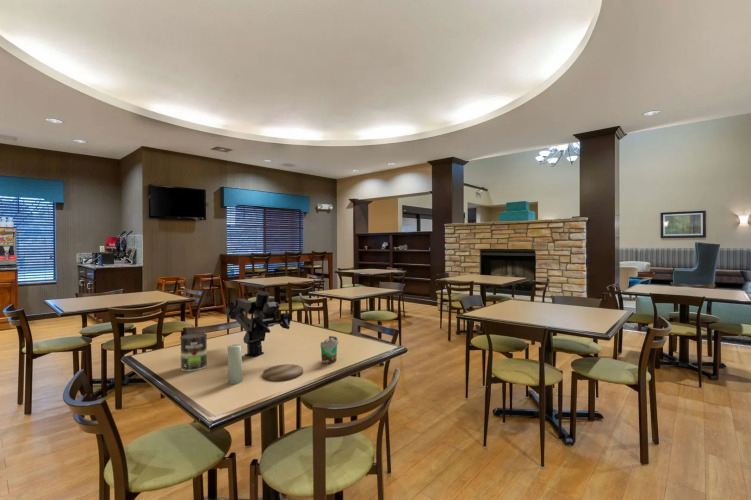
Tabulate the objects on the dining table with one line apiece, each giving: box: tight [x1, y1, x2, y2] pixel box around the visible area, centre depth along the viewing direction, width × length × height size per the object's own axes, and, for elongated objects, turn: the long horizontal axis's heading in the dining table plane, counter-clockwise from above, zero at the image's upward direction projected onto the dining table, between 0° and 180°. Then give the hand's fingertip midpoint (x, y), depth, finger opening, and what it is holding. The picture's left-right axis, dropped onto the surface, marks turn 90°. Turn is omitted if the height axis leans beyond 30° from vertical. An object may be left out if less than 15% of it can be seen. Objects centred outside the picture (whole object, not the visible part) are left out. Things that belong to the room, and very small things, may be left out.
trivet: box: [262, 363, 304, 382], centre depth 148 cm, size 16×16×1 cm
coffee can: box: [180, 332, 208, 372], centre depth 157 cm, size 10×10×14 cm
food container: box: [320, 335, 340, 365], centre depth 163 cm, size 12×6×10 cm, turn 168°
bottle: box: [227, 344, 243, 385], centre depth 140 cm, size 5×5×14 cm
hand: (279, 329), depth 156 cm, fingers open, 9 cm apart
